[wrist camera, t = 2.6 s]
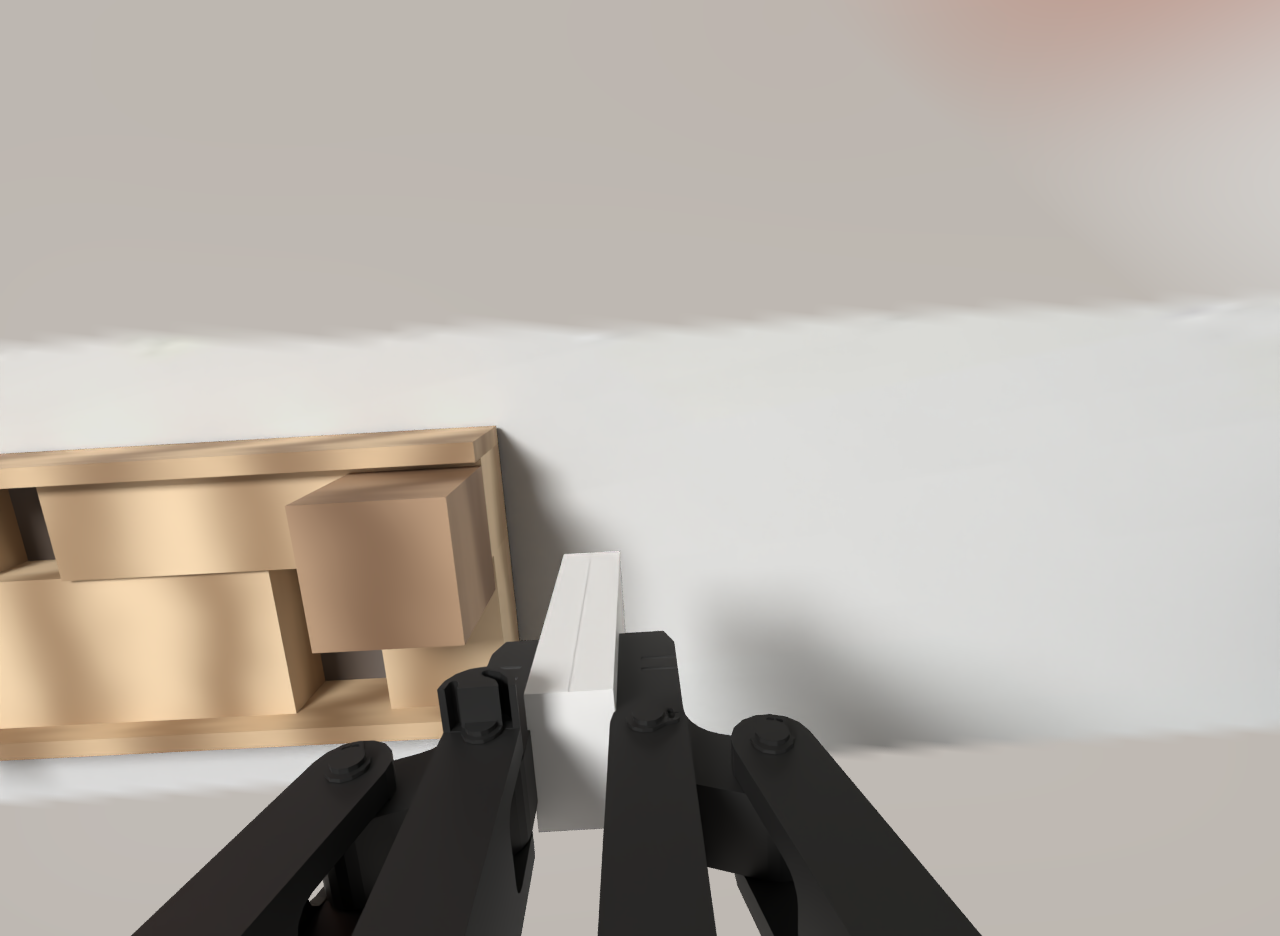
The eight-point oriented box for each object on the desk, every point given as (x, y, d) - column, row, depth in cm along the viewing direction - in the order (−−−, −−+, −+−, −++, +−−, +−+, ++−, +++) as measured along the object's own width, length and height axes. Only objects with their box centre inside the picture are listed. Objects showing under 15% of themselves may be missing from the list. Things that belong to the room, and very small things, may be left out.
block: (481, 465, 24) (445, 497, 20) (495, 589, 25) (464, 645, 21) (350, 473, 24) (284, 505, 20) (369, 595, 25) (312, 653, 21)
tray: (496, 425, 27) (459, 450, 21) (523, 683, 29) (497, 763, 24) (-137, 461, 27) (-329, 495, 22) (-53, 712, 30) (-207, 798, 24)
